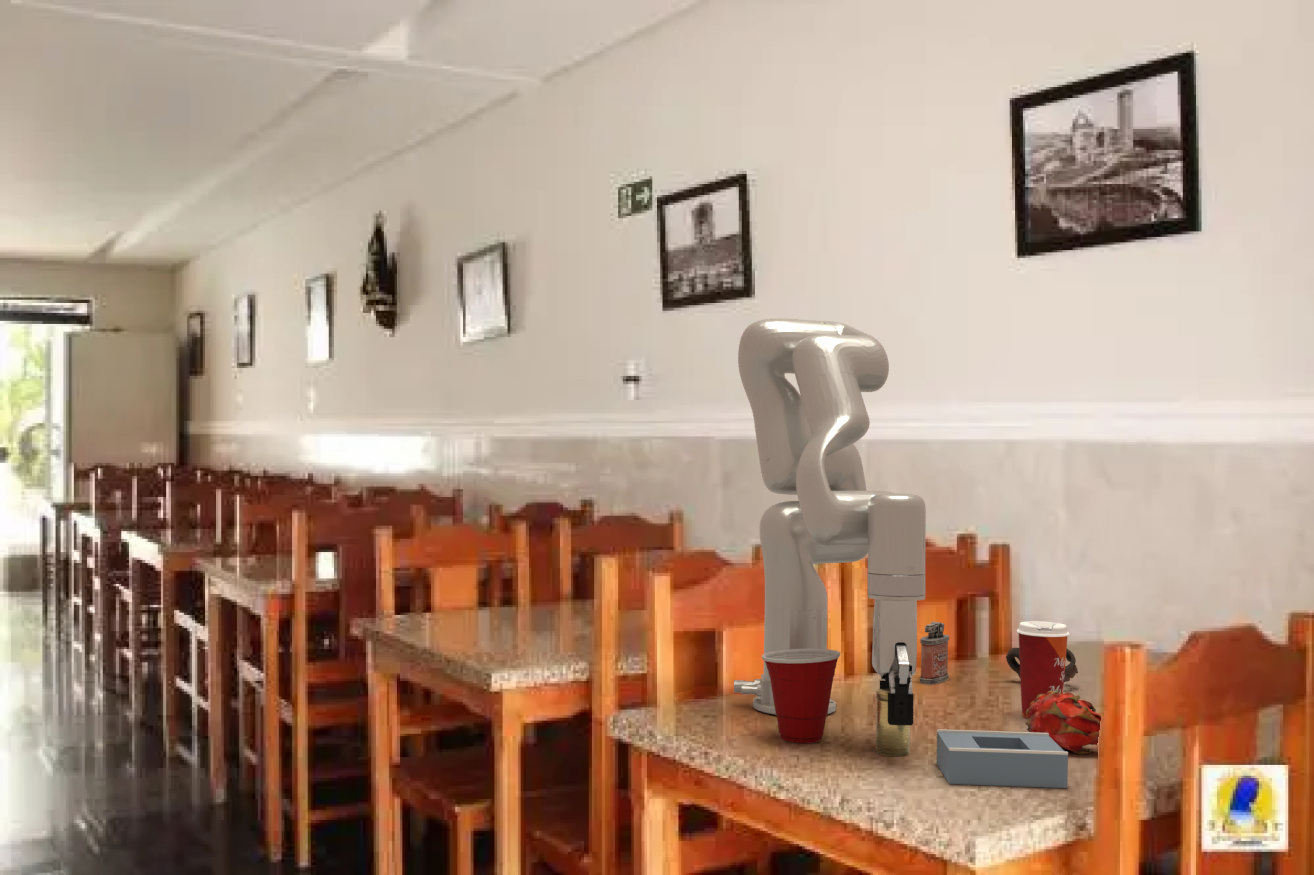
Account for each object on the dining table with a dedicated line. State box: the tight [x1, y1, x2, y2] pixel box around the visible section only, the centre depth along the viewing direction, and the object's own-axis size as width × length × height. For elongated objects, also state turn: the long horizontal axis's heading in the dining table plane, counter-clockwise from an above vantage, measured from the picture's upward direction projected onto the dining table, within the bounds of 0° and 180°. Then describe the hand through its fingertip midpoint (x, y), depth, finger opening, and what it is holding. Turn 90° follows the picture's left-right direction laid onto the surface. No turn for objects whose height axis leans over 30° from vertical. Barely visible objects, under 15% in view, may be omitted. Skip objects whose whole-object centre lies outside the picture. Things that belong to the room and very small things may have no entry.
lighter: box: [919, 621, 950, 685], centre depth 220 cm, size 8×3×10 cm, turn 144°
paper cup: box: [1016, 620, 1071, 720], centre depth 193 cm, size 8×8×14 cm
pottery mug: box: [1005, 647, 1079, 683], centre depth 218 cm, size 12×10×8 cm
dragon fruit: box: [1025, 690, 1101, 755], centre depth 173 cm, size 8×8×12 cm
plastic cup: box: [761, 648, 841, 744], centre depth 176 cm, size 11×11×12 cm
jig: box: [935, 728, 1069, 789], centre depth 159 cm, size 14×10×4 cm
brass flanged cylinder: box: [875, 688, 911, 757], centre depth 169 cm, size 4×4×8 cm
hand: (895, 717), depth 169 cm, fingers open, 9 cm apart
